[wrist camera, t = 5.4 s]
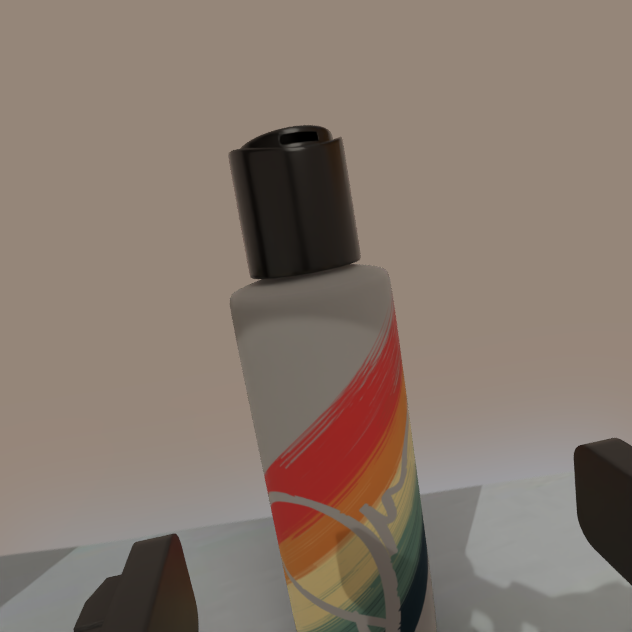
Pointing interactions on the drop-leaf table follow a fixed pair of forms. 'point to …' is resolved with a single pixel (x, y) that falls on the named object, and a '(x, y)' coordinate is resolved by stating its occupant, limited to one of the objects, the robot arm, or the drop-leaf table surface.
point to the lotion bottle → (327, 393)
